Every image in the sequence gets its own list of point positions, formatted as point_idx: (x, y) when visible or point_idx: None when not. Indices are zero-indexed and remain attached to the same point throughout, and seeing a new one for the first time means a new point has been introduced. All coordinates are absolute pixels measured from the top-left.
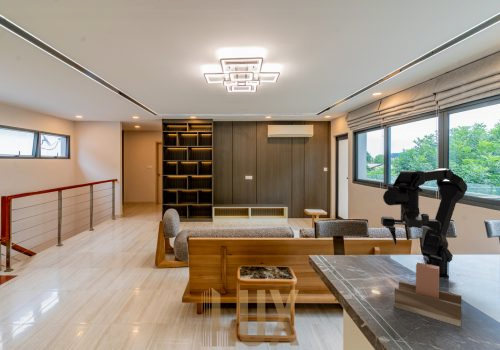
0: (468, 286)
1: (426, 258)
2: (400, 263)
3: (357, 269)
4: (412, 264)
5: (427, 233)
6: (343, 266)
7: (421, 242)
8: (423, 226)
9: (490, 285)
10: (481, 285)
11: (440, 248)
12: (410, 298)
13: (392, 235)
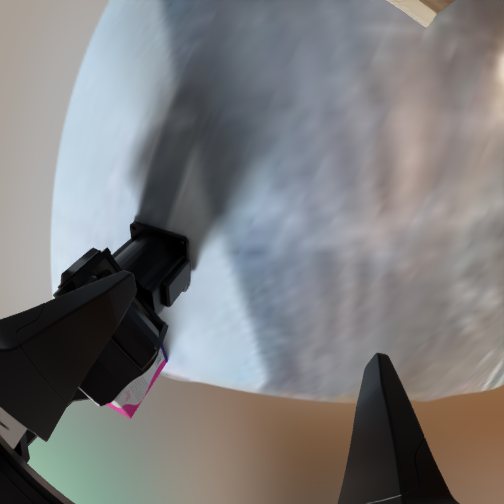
0: (103, 152)
1: (161, 351)
2: (254, 343)
3: (467, 301)
4: (214, 331)
5: (1, 339)
6: (492, 324)
7: (138, 368)
8: (42, 438)
9: (61, 175)
10: (76, 170)
11: (72, 289)
12: None
13: (428, 447)
